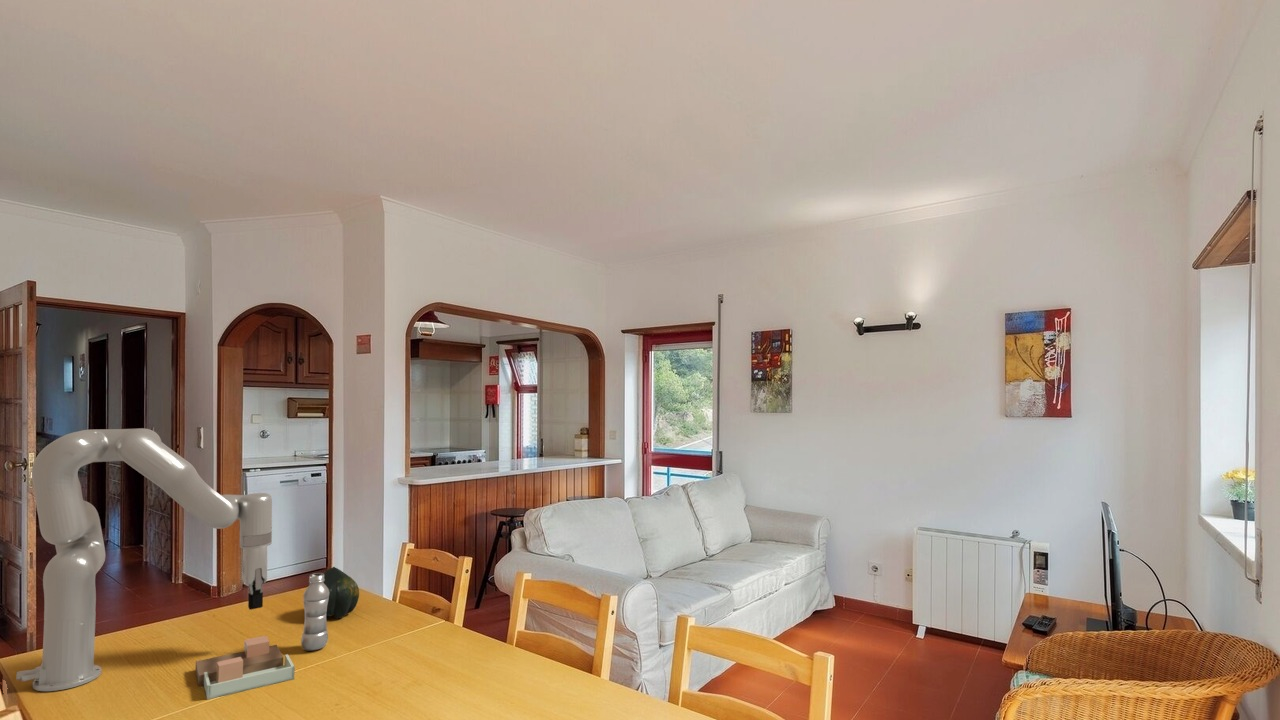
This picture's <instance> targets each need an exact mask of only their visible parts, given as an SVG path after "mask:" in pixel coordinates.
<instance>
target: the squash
mask: <svg viewBox="0 0 1280 720" xmlns="http://www.w3.org/2000/svg"><path fill="white" fill-rule="evenodd" d="M323 574H324V579H325V581H324V582H323V583H324V584H325V585H326V586H327V588H328V589H329V599H328V605H327V612H326V617H334V618H335V619H341V618H344V617H345V615H346V616H347V615H348V614H351V613H352V612H353V611H354V610H355V608H356V607H357V605H358V602H359V598H360V589H359V586H358V584H357V582H356V581H355V580H354V578H352V577H351V576H349V575H348V574H347V573H345V572H344V571H342V570H341V569H339V568H338V567H336V566H332V567H331V568H328V569H327V570H325V572H323Z"/></svg>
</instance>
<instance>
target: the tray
mask: <svg viewBox="0 0 1280 720" xmlns="http://www.w3.org/2000/svg"><path fill="white" fill-rule="evenodd" d="M284 655H285V656H284V664H283V666H279V667H275V668H270V669H266V670H261V671H257V672H252V673H248V674H244V675H243V677H242V678H238V679H233V680H229V681H225V682H220V683H216V681H212V682H210V681H209V677H208V673H207V672H204V685H203V688H204V692H205V697H206V700H211V699H216V698H221V697H224V696H228V695H229V696H230V695H233V694H237V693H240V692H245V691H250V690H254V689H258V688H262V687H266V686H271V685H275V684H279V683H283V682H287V681H291V680H295V672H296V671H295V668H296V666H295V665H294V663H293V661H292V659H291V657H290V656H289V654H288V653H287V654H284Z"/></svg>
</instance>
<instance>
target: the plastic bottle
mask: <svg viewBox="0 0 1280 720" xmlns="http://www.w3.org/2000/svg"><path fill="white" fill-rule="evenodd" d="M323 573H324V572H323ZM323 573H322V572H316V573H312V574H309V577H308V578H309V579H308V583H309V585H308V586H307V588H306V589H305V590H304V592H303V596H302V597H303V609H304V623H303V629H302V635H301V640H300V641H301V647H302V649H303V650H305V651H307V652H309V651H312V652H313V651H317V650H321V649H323V648H324V647H325V646H326V645H327V643H328V641H329V632H328V629H327V628H328V625H327V616H326V612H327V605H328V599H329V589H328V588H327V586H326V585H325V584H324V583H323V582H324V581H325V579H324V574H323Z"/></svg>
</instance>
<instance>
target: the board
mask: <svg viewBox="0 0 1280 720" xmlns="http://www.w3.org/2000/svg"><path fill="white" fill-rule="evenodd" d="M237 657H241V658H242V660H243V675H244V674H248V673H252V672H257V671H261V670H266V669H270V668H275V667H279V666H284V656H283V654H282V652H281V650H280V648H279V647H278V645H277V644H274V645H269V653H267V654H263V655H258V656H253V657H248V658H247V657H246V655H245V652H244V651H240V652H239V651H238V652H235V653H229V654H223V655H220V656H215V657H211V658H205V659H199V660H196V661H195V675H196V676H195V677H196V680H197V684H198V687H201V686H204V672H207V673H208V677H209V681H210V682H212V681H216V672H217V662H220V661H224V660H228V659H233V658H237Z"/></svg>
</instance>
